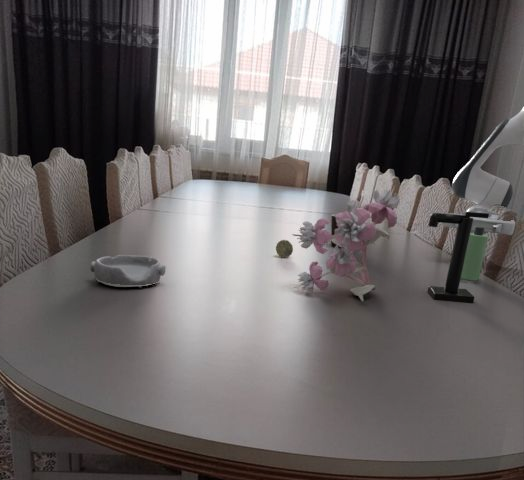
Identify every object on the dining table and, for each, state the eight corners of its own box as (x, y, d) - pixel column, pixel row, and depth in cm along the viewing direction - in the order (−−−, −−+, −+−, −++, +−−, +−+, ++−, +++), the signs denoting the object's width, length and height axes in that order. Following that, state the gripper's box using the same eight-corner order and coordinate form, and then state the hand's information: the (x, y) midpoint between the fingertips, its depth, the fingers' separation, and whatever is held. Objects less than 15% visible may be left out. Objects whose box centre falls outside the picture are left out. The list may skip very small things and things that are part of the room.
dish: (173, 284, 116) (173, 262, 114) (121, 294, 106) (121, 270, 104) (132, 271, 125) (132, 250, 123) (81, 279, 114) (79, 257, 113)
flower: (320, 268, 135) (304, 178, 118) (407, 274, 125) (402, 177, 108) (291, 317, 123) (268, 225, 106) (384, 329, 112) (375, 228, 96)
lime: (294, 257, 153) (295, 240, 151) (283, 259, 150) (284, 241, 148) (282, 254, 156) (284, 238, 154) (272, 256, 152) (273, 239, 151)
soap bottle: (475, 276, 146) (486, 226, 141) (480, 281, 141) (493, 229, 136) (456, 275, 146) (467, 224, 141) (461, 279, 141) (472, 227, 136)
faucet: (464, 294, 126) (483, 211, 119) (473, 303, 120) (493, 215, 112) (412, 290, 127) (428, 207, 119) (418, 298, 120) (435, 210, 113)
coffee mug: (326, 246, 173) (330, 216, 169) (329, 242, 181) (332, 213, 177) (361, 250, 171) (365, 220, 167) (362, 246, 179) (367, 217, 175)
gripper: (445, 207, 164) (442, 211, 152) (515, 215, 158) (518, 220, 146) (441, 227, 166) (438, 232, 154) (509, 235, 160) (512, 242, 148)
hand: (477, 226), depth 150 cm, fingers open, 8 cm apart
